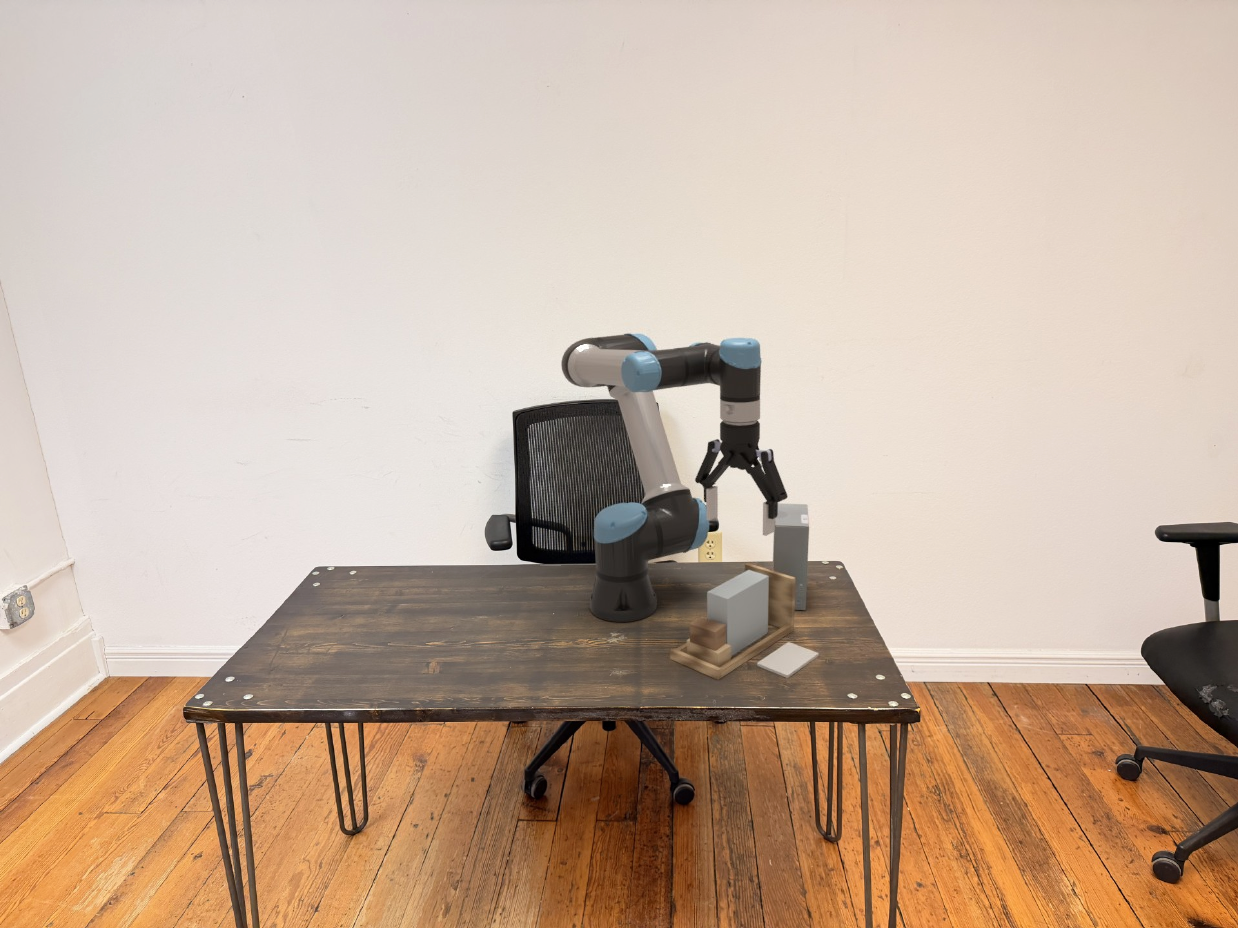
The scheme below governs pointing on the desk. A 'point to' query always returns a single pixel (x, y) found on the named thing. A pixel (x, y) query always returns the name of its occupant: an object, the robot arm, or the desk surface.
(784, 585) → the rack
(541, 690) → the desk surface
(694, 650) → the offcut lower
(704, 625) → the offcut upper
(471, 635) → the desk surface
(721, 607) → the grey rectangular block
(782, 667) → the mat
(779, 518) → the hard drive box
